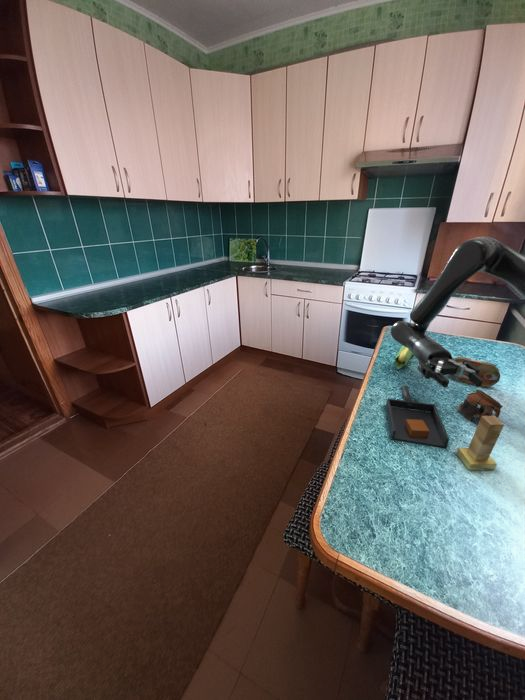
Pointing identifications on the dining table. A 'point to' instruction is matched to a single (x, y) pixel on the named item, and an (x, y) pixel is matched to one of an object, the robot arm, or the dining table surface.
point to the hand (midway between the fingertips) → (463, 384)
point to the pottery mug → (486, 408)
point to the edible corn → (403, 357)
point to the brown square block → (416, 428)
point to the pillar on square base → (482, 445)
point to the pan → (430, 418)
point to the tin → (487, 372)
